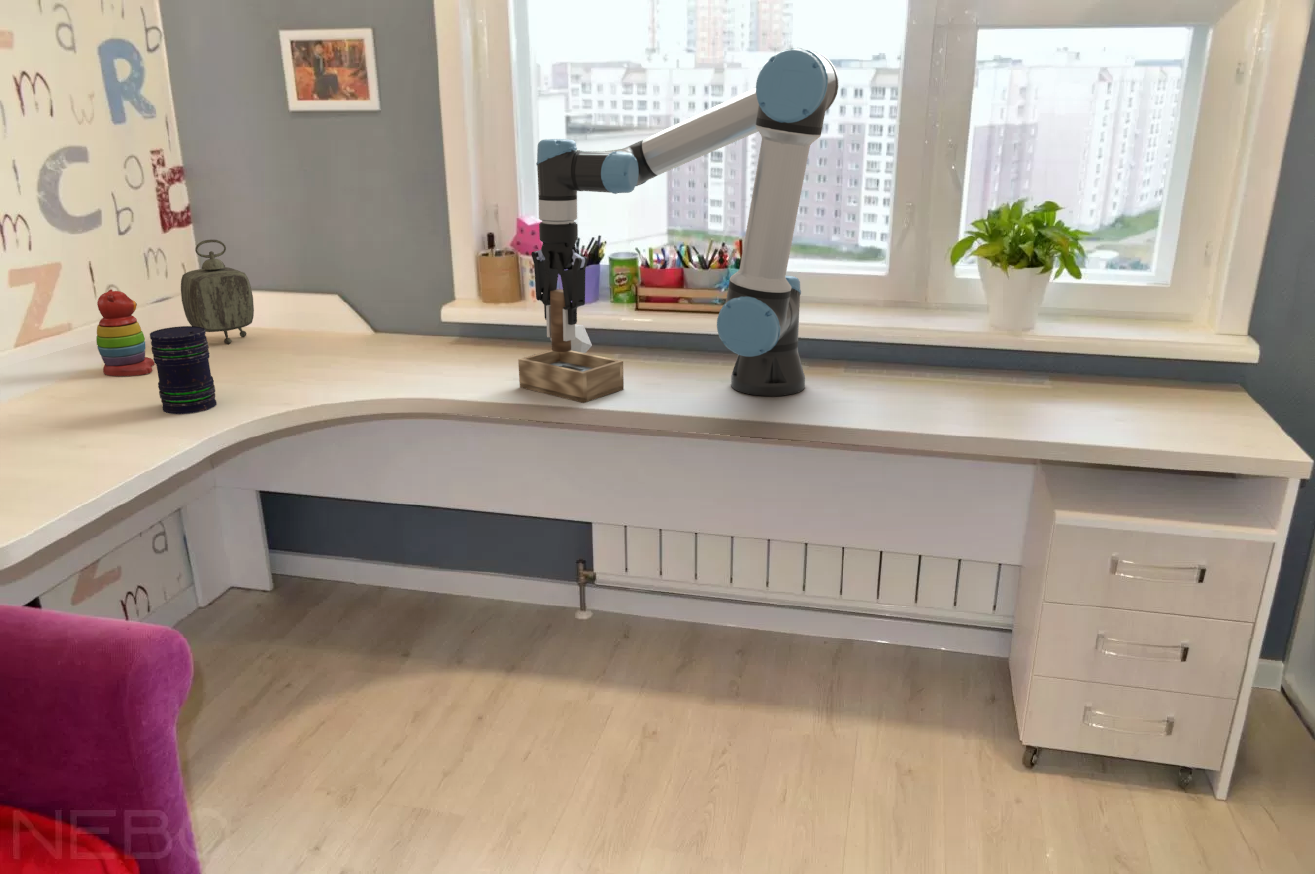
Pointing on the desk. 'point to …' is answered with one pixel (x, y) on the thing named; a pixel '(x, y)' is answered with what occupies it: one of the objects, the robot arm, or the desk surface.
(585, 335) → the die
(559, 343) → the peg
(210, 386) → the storage jar
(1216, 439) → the desk surface
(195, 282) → the tabletop clock
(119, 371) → the bird stacking toy
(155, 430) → the desk surface
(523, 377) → the box
